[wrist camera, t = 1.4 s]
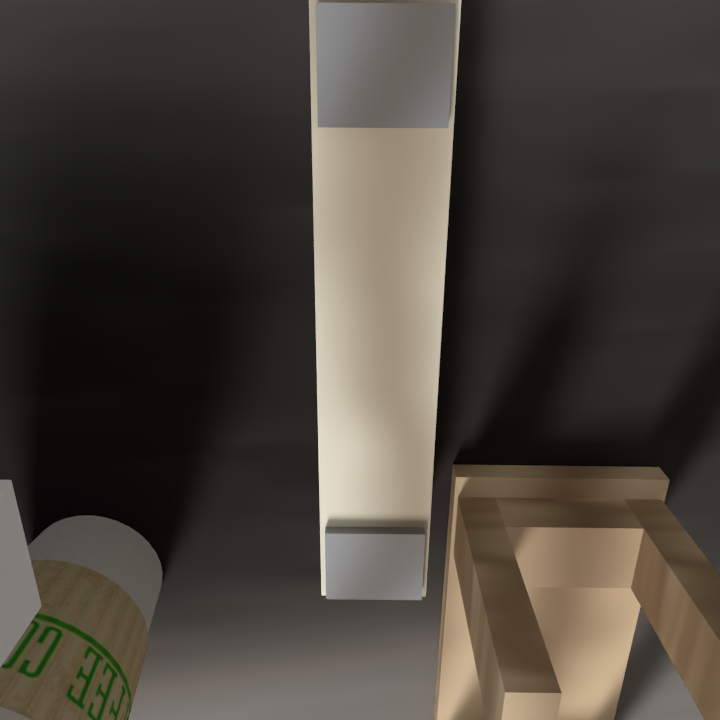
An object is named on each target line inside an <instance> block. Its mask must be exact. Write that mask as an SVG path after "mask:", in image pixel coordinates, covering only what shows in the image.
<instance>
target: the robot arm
mask: <svg viewBox="0 0 720 720" xmlns="http://www.w3.org/2000/svg"><path fill="white" fill-rule="evenodd" d="M41 606H42V605H41V601H40V597H39V593H38V589H37V585H36V580H35V576H34V572H33V568H32V564H31V560H30V556H29V552H28V548H27V543H26V539H25V535H24V531H23V527H22V523H21V519H20V515H19V510H18V506H17V502H16V498H15V494H14V490H13V486H12V482H11V480H0V668H1V666H2V665H3V663H4V662H5V660H6V659H7V657H8V656H9V654H10V653H11V651H12V650H13V648H14V647H15V645H16V644H17V642H18V641H19V639H20V638H21V636H22V635H23V633H24V632H25V630H26V629H27V627H28V626H29V624H30V623H31V621H32V620H33V618H34V617H35V615H36V614H37V612H38V611H39V609H40V608H41Z"/></svg>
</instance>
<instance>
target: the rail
mask: <svg viewBox="0 0 720 720" xmlns="http://www.w3.org/2000/svg"><path fill="white" fill-rule="evenodd" d="M460 15H461V0H309V25H310V73H311V120H312V167H313V215H314V262H315V309H316V356H317V404H318V451H319V498H320V545H321V593H322V595H326V599H369V600H422V596H425V597H426V583H427V566H428V549H429V533H430V516H431V499H432V483H433V466H434V449H435V433H436V416H437V399H438V382H439V366H440V349H441V332H442V316H443V299H444V282H445V266H446V249H447V232H448V215H449V199H450V182H451V165H452V149H453V132H454V115H455V99H456V82H457V65H458V48H459V32H460Z"/></svg>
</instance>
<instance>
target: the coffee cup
mask: <svg viewBox="0 0 720 720" xmlns="http://www.w3.org/2000/svg"><path fill="white" fill-rule="evenodd" d="M27 548H28V552H29V556H30V560H31V564H32V568H33V572H34V576H35V580H36V585H37V589H38V593H39V597H40V601H41V605H42V606H41V608H40V609H39V611H38V612H37V614H36V615H35V617H34V618H33V620H32V621H31V623H30V624H29V626H28V627H27V629H26V630H25V632H24V633H23V635H22V636H21V638H20V639H19V641H18V642H17V644H16V645H15V647H14V648H13V650H12V651H11V653H10V654H9V656H8V657H7V659H6V660H5V662H4V663H3V665H2V666H1V668H0V720H128V718H129V714H130V711H131V707H132V703H133V699H134V696H135V692H136V688H137V684H138V681H139V677H140V673H141V669H142V666H143V662H144V658H145V654H146V651H147V647H148V632H149V628H150V625H151V621H152V617H153V614H154V610H155V607H156V603H157V599H158V596H159V592H160V589H161V585H162V575H163V572H162V567H161V562H160V560H159V558H158V556H157V553H156V552H155V550H154V549H153V548H152V546H151V545H150V543H149V542H148V541H147V540H146V539H145V538H144V537H143V536H142V535H140V534H139V533H138V532H136V531H135V530H133V529H132V528H130V527H129V526H127V525H124V524H122V523H120V522H118V521H115V520H112V519H109V518H105V517H99V516H92V515H85V516H74V517H69V518H65V519H62V520H60V521H57V522H55V523H53V524H52V525H50V526H49V527H48V528H46V529H45V530H44V531H43V532H42V533H41V534H40V535H39V536H38V537H37V538H36V539H35V540H34V541H33V542H32V543H31V544H29V545H28V546H27Z"/></svg>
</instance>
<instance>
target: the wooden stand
mask: <svg viewBox="0 0 720 720" xmlns="http://www.w3.org/2000/svg"><path fill="white" fill-rule="evenodd" d="M668 485H669V478H668V477H667V476H666V475H665V474H664V472H663V471H662V470H661V469H660V468H659V467H615V466H532V465H453V468H452V482H451V495H450V508H449V521H448V535H447V548H446V561H445V574H444V588H443V601H442V614H441V628H440V641H439V654H438V667H437V681H436V694H435V707H434V720H614V718H615V714H616V709H617V705H618V701H619V696H620V692H621V688H622V683H623V679H624V675H625V670H626V666H627V662H628V657H629V653H630V649H631V645H632V640H633V636H634V632H635V627H636V623H637V619H638V614H639V610H640V606H641V607H642V609H643V611H644V613H645V614H646V616H647V618H648V620H649V622H650V623H651V625H652V627H653V629H654V630H655V632H656V634H657V636H658V638H659V639H660V641H661V643H662V645H663V646H664V648H665V650H666V652H667V654H668V655H669V657H670V659H671V661H672V662H673V664H674V666H675V668H676V670H677V671H678V673H679V675H680V677H681V678H682V680H683V682H684V684H685V686H686V687H687V689H688V691H689V693H690V694H691V696H692V698H693V700H694V702H695V703H696V705H697V707H698V709H699V710H700V712H701V714H702V716H703V718H704V719H705V720H720V575H719V573H718V572H717V571H716V570H715V568H714V567H713V566H712V564H711V563H710V562H709V560H708V559H707V558H706V557H705V555H704V554H703V553H702V551H701V550H700V549H699V548H698V546H697V545H696V544H695V542H694V541H693V540H692V538H691V537H690V536H689V535H688V533H687V532H686V531H685V529H684V528H683V527H682V526H681V524H680V523H679V522H678V520H677V519H676V518H675V516H674V515H673V514H672V513H671V511H670V510H669V509H668V507H667V506H666V505H665V504H664V502H665V498H666V493H667V489H668Z"/></svg>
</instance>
